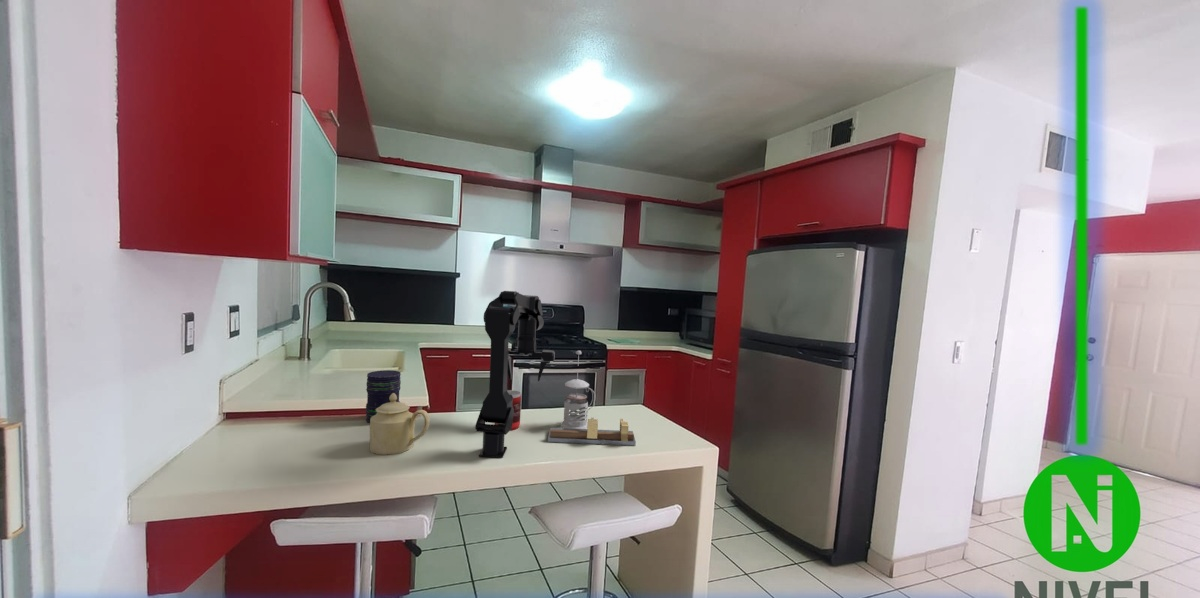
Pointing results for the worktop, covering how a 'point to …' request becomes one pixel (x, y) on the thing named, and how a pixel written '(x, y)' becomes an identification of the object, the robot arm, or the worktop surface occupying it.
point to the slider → (592, 428)
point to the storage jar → (381, 390)
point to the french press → (576, 405)
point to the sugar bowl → (394, 428)
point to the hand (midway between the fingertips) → (524, 380)
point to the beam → (621, 435)
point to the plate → (590, 440)
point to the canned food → (515, 409)
